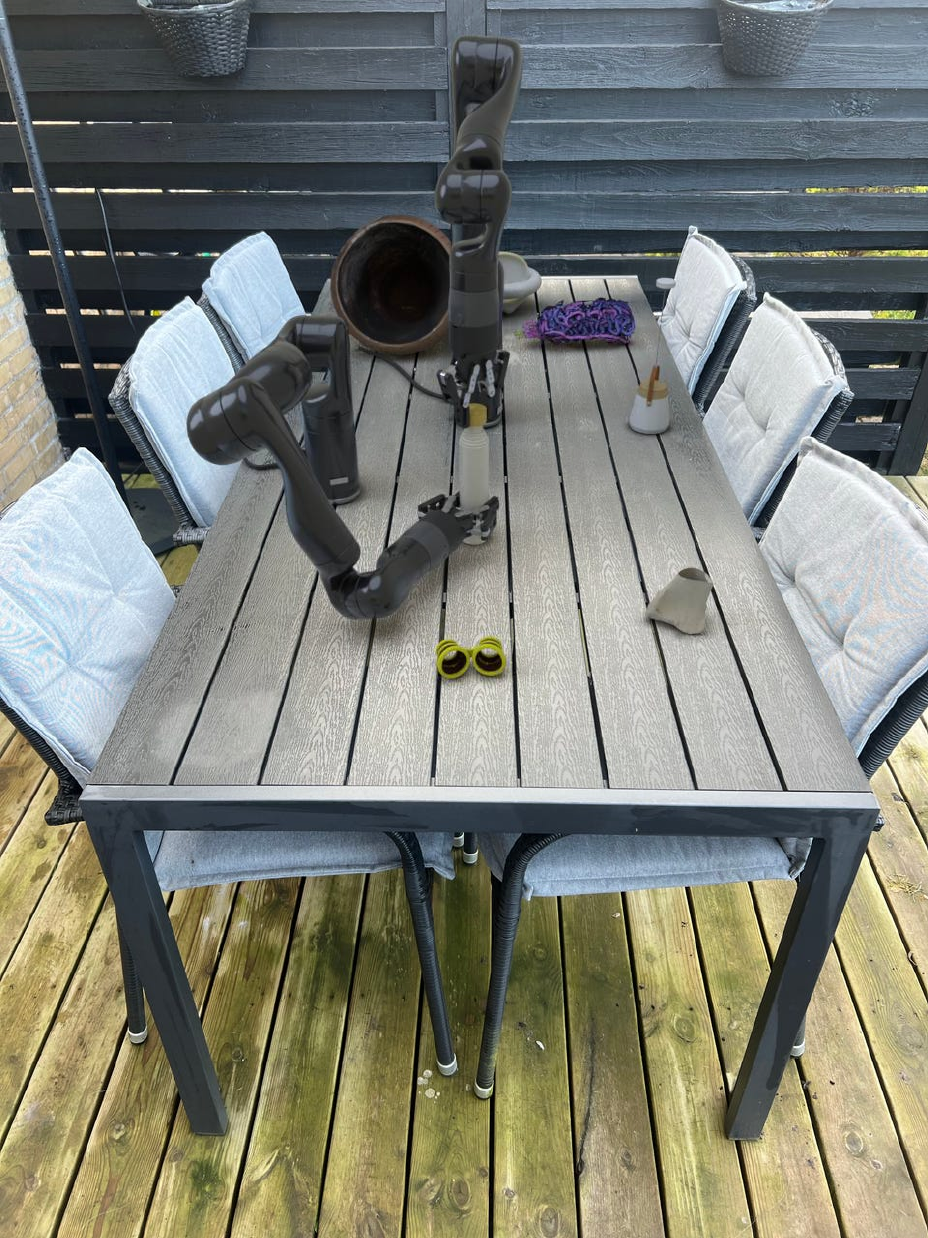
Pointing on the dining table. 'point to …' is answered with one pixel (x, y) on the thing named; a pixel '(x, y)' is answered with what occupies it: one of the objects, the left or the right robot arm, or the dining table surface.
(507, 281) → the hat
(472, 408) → the cap
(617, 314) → the decorative ornament
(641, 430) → the pendant light
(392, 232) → the pot
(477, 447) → the bottle
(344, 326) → the left robot arm
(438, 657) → the opera glasses
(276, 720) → the dining table surface
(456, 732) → the dining table surface
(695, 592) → the grey flared hollow piece
